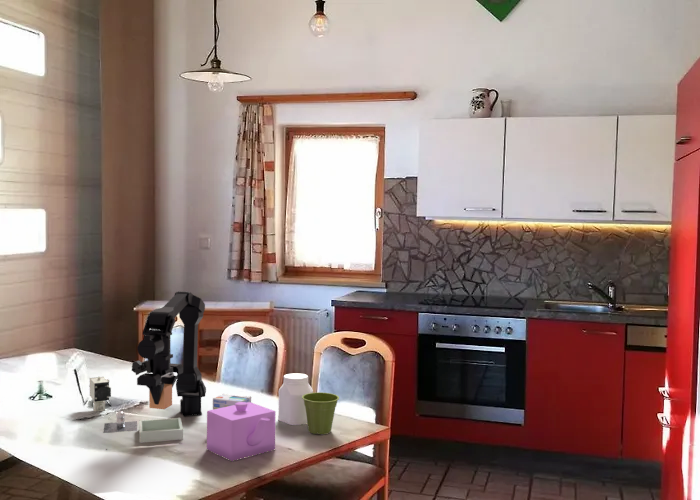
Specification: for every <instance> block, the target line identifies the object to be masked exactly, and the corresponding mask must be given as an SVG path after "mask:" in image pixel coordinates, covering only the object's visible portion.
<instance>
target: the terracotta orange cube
mask: <svg viewBox="0 0 700 500" xmlns="http://www.w3.org/2000/svg"><path fill="white" fill-rule="evenodd" d="M148 393H149V396H148V397H149V398H148V399H149V403H148V404H149V407H148V408H149V409H157V410H158V409H159V410H166V409H167V408H169V407H171V406H173V387H172V384H164V388H163V391H162V394H161V398H160V401H159V404H158V405H157V404H155V403H154V400H153V398H152V395H151V392H150V390H149V389H148Z"/></svg>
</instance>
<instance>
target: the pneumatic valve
mask: <svg viewBox="0 0 700 500" xmlns="http://www.w3.org/2000/svg"><path fill="white" fill-rule="evenodd" d="M88 386H89V396H90V398H91V399H92V400H93V402H92V403H93V412H95V413H96V412H105V411H106V402H105V401H109V400H110V397H111V396H112V387H110V379H109V378H105V377H104V376H98V377H89V385H88Z"/></svg>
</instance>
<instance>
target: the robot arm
mask: <svg viewBox="0 0 700 500" xmlns="http://www.w3.org/2000/svg"><path fill="white" fill-rule="evenodd" d="M205 309H206V303H205V302H204V301H203V300H202V298H201V297H199V296H197V295H194V294H193V293H192V292H191V291H187V290H186V291H184V290H183V291H180V290H179V291H176V292H174V296H172V298H171V299H169V300H168V302H167V303H165V304H164V306H162V307H159V308H155V309H152V310H151V311H150V312H149V313H148V315H147V317H146V320H145V324H144V327H143V330H142V335H143V339H142V340H140V342H138V344H137V348H136V349H137V353H138V355H139V356H140V357H141V358H143V359H147V360H144V361H142V362H141V361H140V360H136V361H133V362H132V363H131V372H133V373H134V374H135V376H137V375H139V376H138V377H137V378H136V385H137V386H144V387H146V388H148V391H149V390H150V392H151V395H152V398H153V400H154V403H155V404H157V405H158V404H159V401H160V398H161V394H162V391H163V388H164V384H172V388H174V385H175V389H176V395H177V397H181V399H180V400H179V403H180V405H179V411H180V414H181V415H182V416H183V417H186V416H187V417H189V416H202V415H203V412H202V398H203V397H204V398H205V397H206V394H207V393H206V392H207V387H206V385H205V383H204V381H203V378H202V376H203V375H202V372H201V371H200V369H199V368H198V348H199V347H198V345H199V344H198V340H199V323H200V322H201V321H202V319H203V317H204V312H205ZM178 315H179V316H178ZM177 316H178V317H179V319H180V320H181V322H182V324H183V342H182V343H183V345H182V346H183V347H182V348H183V349H182V364H181V363H171V359H172V358H174V353H171V336H172V335H173V332H172V331H173V328H174V326H175V324H176V317H177ZM145 372H146V373H145ZM175 373H176V374H177V375H175ZM140 374H141V375H140Z"/></svg>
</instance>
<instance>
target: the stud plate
mask: <svg viewBox="0 0 700 500" xmlns="http://www.w3.org/2000/svg"><path fill="white" fill-rule="evenodd" d="M115 418H116V422H105V423H104V427H103V431H102V433H104V434H105V433H117V432H118V433H121V432H135V431H138V421H136V420H134V421H133V420H132V421H125V420H126V419H125V418H126V414H125V412H124V411H121V410H120V411H118V412H117V413H116V417H115Z"/></svg>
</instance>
